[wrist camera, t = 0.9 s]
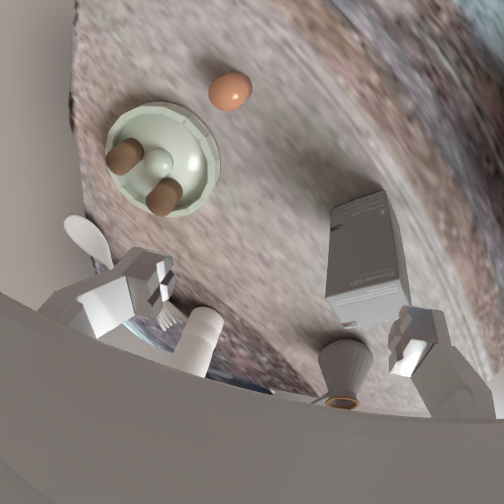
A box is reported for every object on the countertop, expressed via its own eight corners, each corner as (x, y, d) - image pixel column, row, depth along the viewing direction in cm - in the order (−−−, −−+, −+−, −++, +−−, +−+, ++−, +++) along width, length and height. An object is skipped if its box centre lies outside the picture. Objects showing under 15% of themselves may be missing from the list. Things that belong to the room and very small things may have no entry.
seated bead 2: (157, 176, 44) (144, 190, 41) (182, 179, 43) (170, 194, 40) (159, 199, 46) (147, 214, 44) (183, 203, 46) (172, 218, 43)
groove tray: (109, 101, 38) (99, 106, 36) (222, 105, 36) (216, 110, 34) (122, 199, 49) (115, 207, 48) (219, 216, 47) (214, 226, 46)
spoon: (169, 321, 70) (163, 333, 67) (64, 221, 57) (54, 231, 54) (195, 312, 65) (189, 325, 62) (80, 200, 52) (69, 210, 49)
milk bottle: (210, 330, 68) (171, 434, 50) (185, 311, 66) (139, 417, 47) (231, 320, 64) (192, 434, 45) (205, 300, 61) (157, 416, 43)
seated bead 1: (119, 137, 41) (103, 148, 38) (142, 138, 40) (127, 150, 37) (122, 161, 43) (108, 174, 40) (145, 163, 43) (131, 177, 40)
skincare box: (384, 187, 38) (402, 271, 27) (400, 228, 42) (417, 317, 30) (327, 208, 42) (320, 295, 31) (347, 246, 46) (345, 335, 34)
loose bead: (220, 70, 33) (209, 75, 30) (253, 73, 33) (245, 78, 30) (219, 100, 36) (208, 109, 33) (251, 104, 35) (242, 112, 32)
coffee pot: (358, 326, 57) (355, 398, 46) (382, 354, 61) (381, 418, 50) (272, 353, 69) (257, 413, 58) (301, 376, 73) (291, 432, 62)
